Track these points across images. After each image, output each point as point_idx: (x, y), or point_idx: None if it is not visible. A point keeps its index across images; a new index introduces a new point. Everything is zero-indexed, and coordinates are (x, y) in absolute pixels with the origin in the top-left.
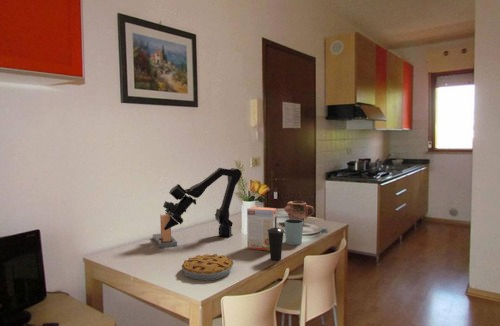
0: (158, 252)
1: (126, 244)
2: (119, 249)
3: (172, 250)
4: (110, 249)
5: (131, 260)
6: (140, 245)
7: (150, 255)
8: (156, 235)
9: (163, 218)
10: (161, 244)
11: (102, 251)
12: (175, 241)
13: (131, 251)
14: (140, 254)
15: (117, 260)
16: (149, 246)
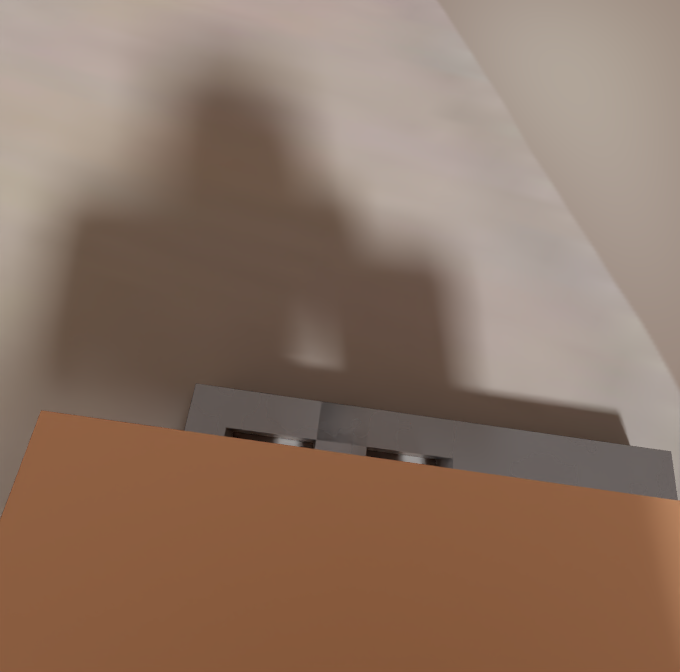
0: (63, 328)
1: (509, 178)
2: (391, 99)
3: (4, 495)
4: (427, 57)
5: (31, 78)
6: (416, 261)
7: (33, 234)
8: (615, 484)
9: (65, 462)
10: (190, 408)
11: (405, 10)
12: None
13: (276, 148)
14: (135, 176)
15: (117, 15)
16: (334, 321)
